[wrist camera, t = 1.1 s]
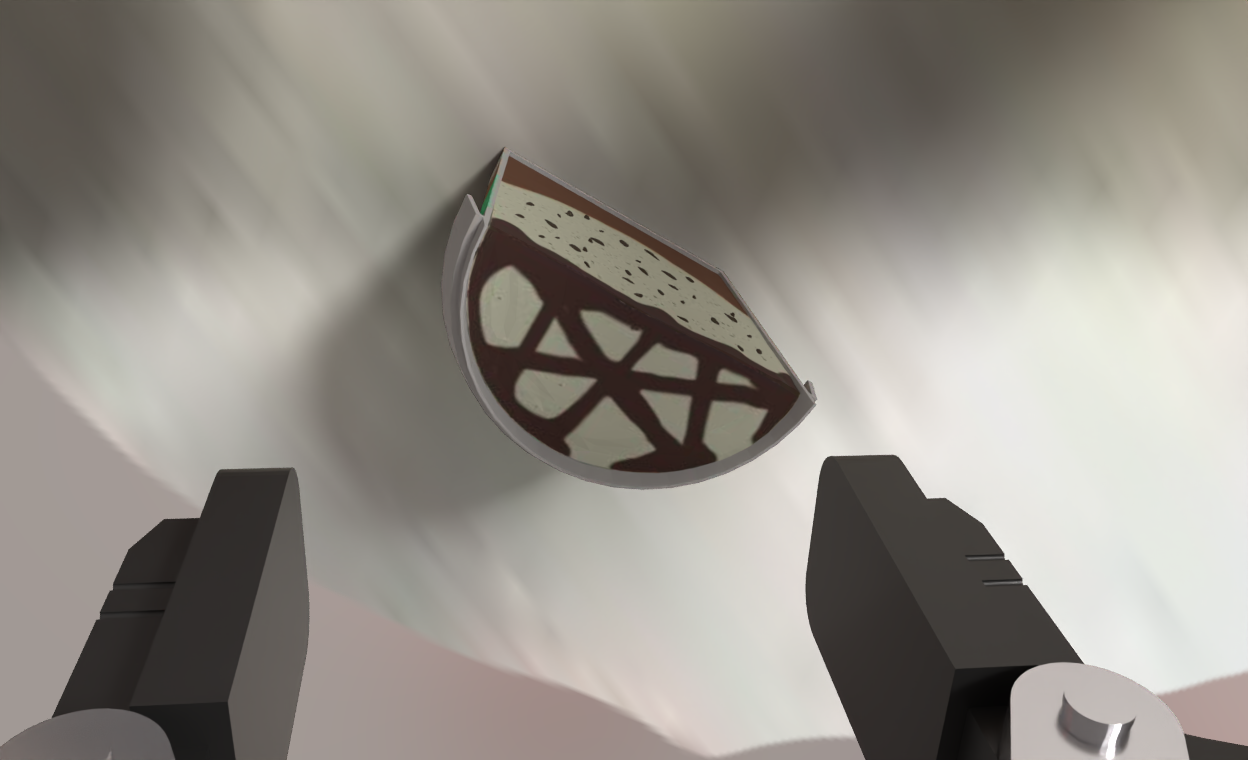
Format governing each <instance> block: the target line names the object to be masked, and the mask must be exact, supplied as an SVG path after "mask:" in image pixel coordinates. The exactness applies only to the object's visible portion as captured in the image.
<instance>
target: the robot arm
mask: <svg viewBox="0 0 1248 760" xmlns="http://www.w3.org/2000/svg"><path fill="white" fill-rule="evenodd" d="M806 605H807V613H808V619H809V624H810V627H811V631H812V633H813V636H814V638H815V641H816V643H817V646H818V648H819V650H820V653H821V655H822V657H823V660H824V662H825V665H826V667H827V669H828V672H829V674H830V676H831V679H832V681H833V684H834V686H835V688H836V691H837V693H838V695H839V698H840V700H841V703H842V705H843V707H844V710H845V712H846V715H847V717H848V719H849V722H850V724H851V726H852V729H853V731H854V734H855V736H856V738H857V741H858V743H859V745H860V748H861V750H862V753H863V755H864V757H865V759H866V760H1248V746H1244V745H1238V744H1232V743H1227V742H1222V741H1216V740H1211V739H1205V738H1201V737H1196V736H1192V735H1187V734H1184V733H1183V730H1182V727H1181V725H1180V723H1179V721H1178V719H1177V718H1176V716H1175V715H1174V713H1173V712H1172V711H1171V710H1170V709H1169V707H1168V706H1167V705H1166V704H1165V703H1164V702H1163V701H1162V700H1160V699H1159V698H1158V697H1157V696H1156V695H1155V694H1153V693H1152V692H1150V691H1149V690H1148V689H1146V688H1145V687H1143V686H1141V685H1140V684H1138V683H1136V682H1135V681H1133V680H1131V679H1129V678H1127V677H1124V676H1122V675H1120V674H1118V673H1115V672H1112V671H1109V670H1106V669H1103V668H1099V667H1095V666H1091V665H1086V664H1084V663H1083V662H1082V660H1081V659H1080V658H1079V656H1078V655H1077V653H1076V652H1075V651H1074V649H1073V648H1072V647H1071V645H1070V644H1069V642H1068V641H1067V640H1066V638H1065V637H1064V635H1063V634H1062V633H1061V631H1060V630H1059V629H1058V627H1057V626H1056V624H1055V623H1054V622H1053V620H1052V619H1051V618H1050V616H1049V615H1048V613H1047V612H1046V611H1045V609H1044V608H1043V606H1042V605H1041V604H1040V602H1039V601H1038V600H1037V598H1036V597H1035V595H1034V594H1033V593H1032V591H1031V590H1030V589H1029V587H1028V586H1027V585H1023V583H1022V577H1021V576H1020V575H1019V573H1018V572H1017V571H1016V569H1015V568H1014V566H1013V565H1012V564H1011V562H1010V561H1009V560H1005V558H1004V553H1003V551H1002V550H1001V548H1000V547H999V546H998V544H997V543H996V542H995V540H994V539H993V537H992V536H991V535H990V533H989V532H988V531H987V529H986V528H985V526H984V525H983V524H982V523H981V522H979V521H978V520H976V519H975V518H973V517H972V516H971V515H969V514H968V513H966V512H965V511H963V510H962V509H960V508H959V507H958V506H956V505H955V504H953V503H952V502H950V501H949V500H947V499H946V498H933V499H927V498H926V497H925V495H924V494H923V492H922V491H921V489H920V488H919V486H918V485H917V483H916V482H915V480H914V479H913V477H912V476H911V474H910V473H909V471H908V470H907V468H906V467H905V465H904V464H903V462H902V461H901V460H900V458H899V457H897V456H896V455H864V456H830V457H827V458H826V459H825V461H824V462H823V465H822V468H821V471H820V476H819V483H818V490H817V498H816V505H815V513H814V520H813V527H812V535H811V542H810V550H809V557H808V565H807V572H806ZM308 635H309V591H308V580H307V569H306V558H305V547H304V536H303V525H302V514H301V504H300V493H299V484H298V478H297V474H296V471H295V469H294V468H258V469H221V470H219V471H218V473H217V475H216V477H215V479H214V482H213V485H212V487H211V490H210V493H209V495H208V498H207V501H206V503H205V506H204V509H203V511H202V514H201V517H200V518H189V519H188V518H187V519H164V520H163V521H162V522H160V523H159V524H158V525H157V526H156V527H154V528H153V529H152V530H151V531H150V532H149V533H147V534H146V535H145V536H144V537H143V538H142V539H141V540H139V541H138V542H137V543H136V544H135V545H133V546H132V547H131V548H130V549H129V550H128V552H127V555H126V557H125V559H124V561H123V563H122V565H121V568H120V570H119V572H118V574H117V576H116V578H115V581H114V583H113V591H110V592H109V594H108V596H107V599H106V600H105V602H104V605H103V607H102V609H101V611H100V620H96V622H95V625H94V627H93V629H92V631H91V633H90V635H89V638H88V640H87V642H86V644H85V646H84V648H83V651H82V653H81V655H80V657H79V659H78V662H77V664H76V666H75V668H74V670H73V673H72V675H71V677H70V679H69V681H68V683H67V686H66V688H65V690H64V692H63V694H62V697H61V699H60V701H59V703H58V705H57V707H56V710H55V712H54V714H53V716H52V718H51V719H49V720H46V721H43V722H41V723H39V724H37V725H35V726H32V727H30V728H28V729H26V730H25V731H23V732H21V733H20V734H18V735H16V736H14V737H13V738H12V739H10V740H9V741H8V742H6V743H5V744H4V745H2V746H1V747H0V760H286V759H287V754H288V749H289V744H290V738H291V733H292V728H293V722H294V717H295V712H296V706H297V702H298V696H299V691H300V686H301V681H302V675H303V670H304V665H305V659H306V654H307V646H308Z"/></svg>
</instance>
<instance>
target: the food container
mask: <svg viewBox="0 0 1248 760" xmlns="http://www.w3.org/2000/svg"><path fill="white" fill-rule="evenodd" d="M441 289H442V305H443V317H444V322H445V326H446V330H447V334H448V339H449V343H450V346H451V349H452V351H453V354H454V356H455V358H456V361H457V363H458V365H459V368H460V370H461V372H462V374H463V376H464V378H465V380H466V382H467V384H468V386H469V388H470V389H471V391H472V392H473V394H474V396H475V397H476V399H477V400H478V402H479V403H480V405H481V407H482V408H483V410H484V411H485V413H486V414H487V415H488V416H489V417H490V419H491V420H492V421H493V422H494V423H495V424H496V425H497V426H498V427H499V429H500V430H501V431H502V432H503V433H504V434H505V435H506V436H507V437H509V438H510V439H511V440H512V441H514V442H515V443H516V444H517V445H519V446H520V447H521V448H522V449H523V450H525V451H526V452H527V453H529V454H531V455H532V456H534V457H536V458H538V459H539V460H541V461H543V462H545V463H546V464H548V465H550V466H552V467H554V468H555V469H557V470H559V471H561V472H564V473H566V474H569V475H572V476H574V477H577V478H579V479H582V480H585V481H588V482H593V483H597V484H601V485H606V486H610V487H617V488H629V489H641V490H643V489H661V488H673V487H678V486H684V485H689V484H694V483H699V482H702V481H705V480H708V479H711V478H714V477H717V476H720V475H723V474H726V473H728V472H730V471H732V470H735V469H737V468H739V467H741V466H743V465H745V464H747V463H749V462H751V461H753V460H754V459H756V458H757V457H759V456H760V455H762V454H763V453H765V452H766V451H768V450H769V449H771V448H772V447H774V446H775V445H777V444H778V443H779V442H780V441H781V440H783V439H784V438H785V437H786V436H787V435H788V434H789V433H790V432H792V431H793V430H794V429H795V428H796V427H797V426H798V425H799V424H800V423H801V422H802V421H803V420H804V419H805V417H806V416H807V415H808V414H809V413H810V412H811V410H812V409H813V408H814V407H815V406H816V404H815V401H816V400H817V397H816V394H815V391H814V388H813V384H812V383H811V382H810V381H807V382H806V383H805V384H804V385H803V384H802V382H801V381H800V379H799V378H798V377H797V375H796V374H795V372H794V371H793V370H792V368H791V367H790V365H789V364H788V362H787V361H786V360H785V358H784V357H783V355H782V354H781V353H780V351H779V350H778V348H777V347H776V345H775V344H774V343H773V341H772V340H771V338H770V337H769V336H768V334H767V333H766V331H765V330H764V328H763V327H762V326H761V324H760V323H759V321H758V320H757V319H756V317H755V316H754V314H753V313H752V311H751V310H750V309H749V307H748V306H747V304H746V303H745V301H744V300H743V299H742V297H741V296H740V294H739V293H738V292H737V290H736V289H735V287H734V286H733V284H732V283H731V282H730V280H729V279H728V277H727V276H726V275H725V273H724V272H723V271H721V270H719V269H718V268H716V267H714V266H712V265H711V264H709V263H707V262H705V261H704V260H702V259H700V258H698V257H697V256H695V255H693V254H691V253H690V252H688V251H686V250H684V249H683V248H681V247H679V246H677V245H676V244H674V243H672V242H670V241H669V240H667V239H665V238H663V237H662V236H660V235H658V234H656V233H655V232H653V231H651V230H649V229H648V228H646V227H644V226H642V225H641V224H639V223H637V222H635V221H634V220H632V219H630V218H628V217H627V216H625V215H623V214H621V213H620V212H618V211H616V210H614V209H613V208H611V207H609V206H607V205H606V204H604V203H602V202H600V201H599V200H597V199H595V198H593V197H591V196H590V195H588V194H586V193H584V192H583V191H581V190H579V189H577V188H576V187H574V186H572V185H570V184H569V183H567V182H565V181H563V180H562V179H560V178H558V177H556V176H555V175H553V174H551V173H549V172H548V171H546V170H544V169H542V168H541V167H539V166H537V165H535V164H534V163H532V162H530V161H528V160H527V159H525V158H523V157H521V156H520V155H518V154H516V153H514V152H513V151H511V150H509V149H507V148H506V147H504V149H503V152H502V154H501V156H500V158H499V160H498V162H497V164H496V166H495V169H494V171H493V173H492V175H491V178H490V181H489V184H488V188H487V191H486V195H485V198H484V202H483V205H482V209H481V212H479V210H478V208H477V206H476V204H475V202H474V200H473V198H472V196H471V195H469V194H466V196H465V198H464V201H463V203H462V205H461V207H460V209H459V211H458V214H457V216H456V218H455V220H454V222H453V226H452V229H451V233H450V237H449V240H448V244H447V247H446V251H445V255H444V265H443V274H442V283H441Z"/></svg>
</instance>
